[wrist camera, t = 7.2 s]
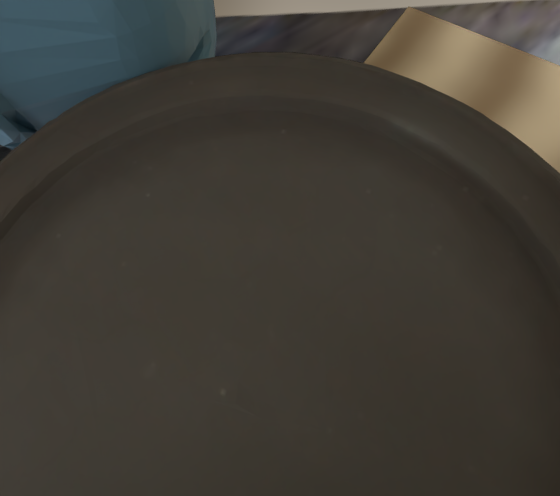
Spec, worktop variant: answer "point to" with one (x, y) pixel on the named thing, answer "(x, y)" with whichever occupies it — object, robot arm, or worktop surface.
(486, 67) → the chopping board
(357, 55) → the worktop surface
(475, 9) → the worktop surface
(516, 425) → the coffee can
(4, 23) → the robot arm
